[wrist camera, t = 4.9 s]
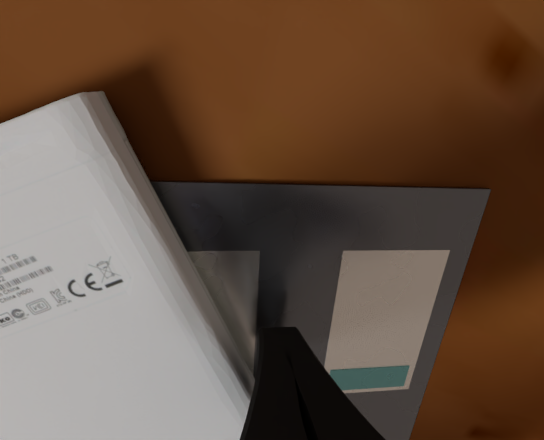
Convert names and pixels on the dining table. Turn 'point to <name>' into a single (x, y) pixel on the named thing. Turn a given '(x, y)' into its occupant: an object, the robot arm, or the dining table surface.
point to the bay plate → (336, 275)
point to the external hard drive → (102, 294)
